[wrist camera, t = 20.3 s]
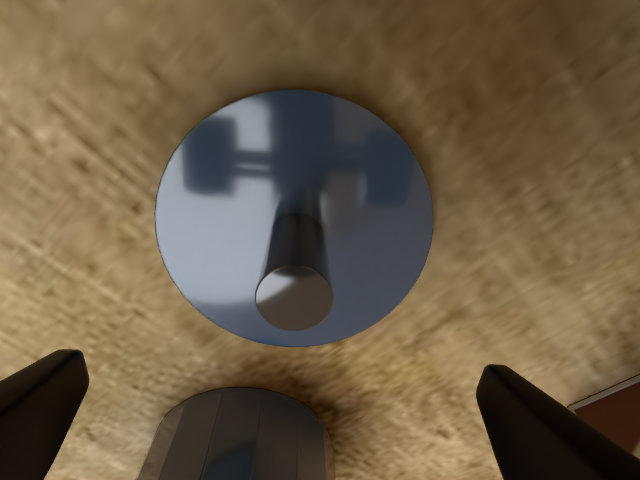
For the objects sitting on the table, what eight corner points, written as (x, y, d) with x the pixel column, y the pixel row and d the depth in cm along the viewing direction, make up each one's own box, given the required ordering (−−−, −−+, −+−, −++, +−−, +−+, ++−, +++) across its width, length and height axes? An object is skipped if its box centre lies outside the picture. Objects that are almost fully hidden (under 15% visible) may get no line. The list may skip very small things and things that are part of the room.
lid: (110, 145, 14) (-2, 180, 9) (394, 44, 13) (454, 18, 8) (230, 357, 18) (202, 461, 13) (444, 296, 17) (502, 383, 12)
